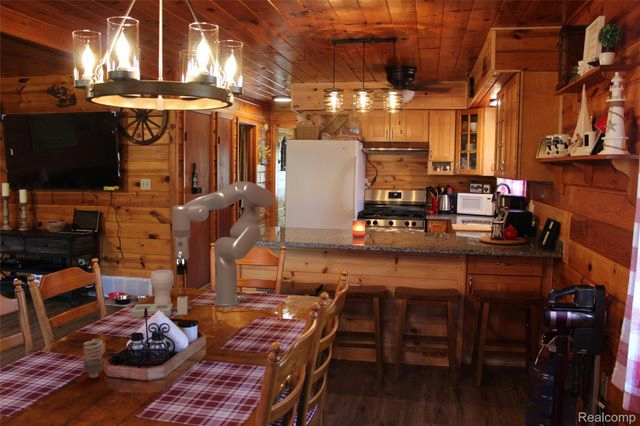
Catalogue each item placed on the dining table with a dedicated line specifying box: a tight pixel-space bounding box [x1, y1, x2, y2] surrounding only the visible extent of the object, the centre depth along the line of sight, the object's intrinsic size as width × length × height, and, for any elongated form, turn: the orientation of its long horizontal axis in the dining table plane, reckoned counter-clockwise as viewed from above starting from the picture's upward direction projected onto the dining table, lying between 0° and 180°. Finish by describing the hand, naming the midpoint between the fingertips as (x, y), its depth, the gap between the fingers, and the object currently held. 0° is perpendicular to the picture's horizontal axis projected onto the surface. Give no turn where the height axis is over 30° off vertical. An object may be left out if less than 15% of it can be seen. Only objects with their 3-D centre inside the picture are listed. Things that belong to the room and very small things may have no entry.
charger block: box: [176, 296, 189, 316], centre depth 229 cm, size 4×4×7 cm
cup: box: [150, 269, 175, 304], centre depth 247 cm, size 11×11×15 cm
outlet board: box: [130, 302, 174, 318], centre depth 229 cm, size 16×12×3 cm
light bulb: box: [82, 338, 104, 379], centre depth 157 cm, size 6×6×12 cm
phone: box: [172, 306, 193, 312], centre depth 236 cm, size 8×4×1 cm, turn 99°
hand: (181, 272), depth 228 cm, fingers open, 9 cm apart
